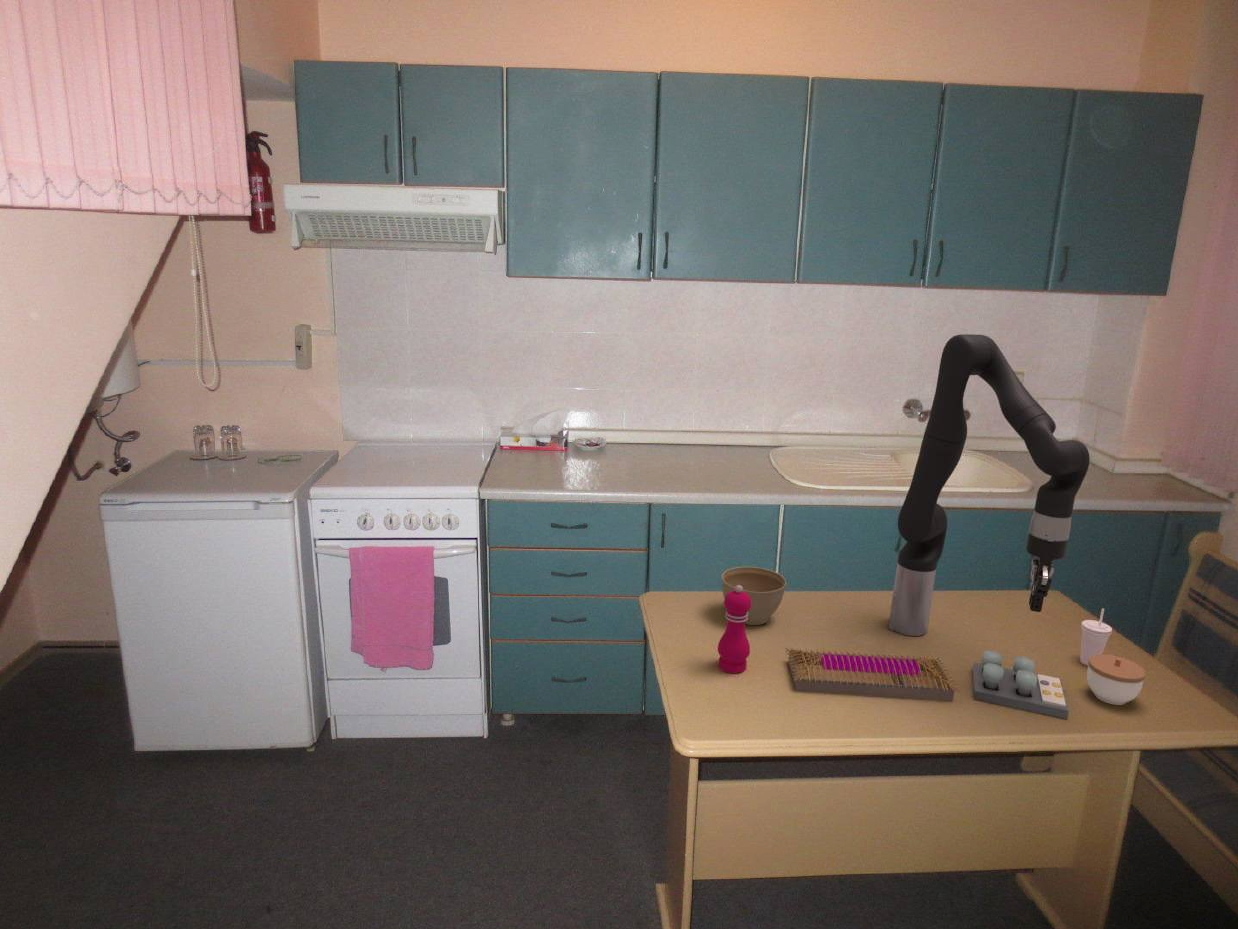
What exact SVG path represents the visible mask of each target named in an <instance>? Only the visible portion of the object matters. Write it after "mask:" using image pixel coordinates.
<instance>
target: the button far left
mask: <svg viewBox="0 0 1238 929" xmlns="http://www.w3.org/2000/svg"><path fill="white" fill-rule="evenodd" d="M1002 662H1003V654H1001V653H1000V652H998V651H996V650H995V651H994V650H989V649H988V650H987V649H986V650H984V651H983V652H982V657H981V663H982V665H983V666H984V665H985V664H987V663H992V664H996V665H999V666H1001V667H1002Z"/></svg>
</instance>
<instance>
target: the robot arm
mask: <svg viewBox="0 0 1238 929" xmlns="http://www.w3.org/2000/svg"><path fill="white" fill-rule="evenodd" d="M970 376H978V377H979V378H980V379H982V380H983V381H984V382H985V383H987V384H988V385H989V387H991V389H992V390H993V391H994V393H995V395H996V398H997V400H998V404H999V409H1000V410H1001V414H1002V415H1003V417H1004V419H1005V421H1007V423H1008V424H1009V425H1010V426H1011V427H1012V429H1013V430H1014V431H1015V432H1016V434H1018V436H1019V437H1020V438H1021V439H1022V440H1023V442H1024V444H1025V446H1026V449H1027V451H1028V453H1029V455H1030V457H1031V459H1032V460H1033V463H1034V464H1035V465H1036V467H1037V468H1038V469H1039V470H1040V471H1041V472H1042V473H1044V474H1046V475H1048V476H1050V478H1049V480H1048V481H1047V482H1045V483H1043V484H1042V485H1040V487H1039V488H1038V490H1037V494H1036V497H1035V498H1036V499H1035V503H1034V509H1033V514H1032V516H1031V520H1030V524H1029V529H1028V535H1027V541H1026V545H1025V550H1026V552H1027V553H1028V554H1029V555H1031V556H1033V557H1032V559H1031V564H1030V565H1031V571H1030V579H1029V580H1030V587H1029V588H1030V589H1031V590H1030V596H1029V599H1028V605H1029V609H1030V611H1031V612H1036V613H1040V612H1042V609H1043V605H1044V604H1043V603H1044V599H1045V598H1047V596H1048V594H1049V590H1050V587H1051V584H1052V582H1053V578H1052V576H1053V575H1054V572H1055V566H1054V562H1053V561H1055V560H1057V561H1060V560H1062V559H1064V558H1065V557H1066V553H1067V549H1068V542H1069V537H1070V532H1071V526H1072V515H1073V510H1074V506H1075V505H1074V504H1075V499H1076V495H1077V494H1078V492H1079V490H1080V488H1081V485H1082V484H1083V482H1084V479H1085V478H1086V475H1087V472H1088V470H1089V466H1090V459H1091V457H1090V452H1089V451H1090V450H1089V449H1088V448H1087V446H1086V444H1084V443H1083V442H1081V441H1079V440H1077V439H1067V440H1061V441H1059V440H1058V439H1057V438H1056V437H1055V436H1054V433H1055V431H1056V428H1057V426H1056V425H1057V424H1056V423H1055V421H1054V419H1053V418H1052V417H1051V415H1050V414H1048V412H1047V411H1046V410H1045V409H1044V408H1043V407H1042V406H1041V405H1040V403H1038V401H1037V400H1036V399H1035V398H1034V397H1033V396H1032V395H1031V393H1030V392H1029V391H1028V390H1027V389H1026V387H1025V386H1024V384H1023V382H1022V381H1021V380H1020V378H1018V376H1017V374H1016V373H1015V370H1013V368H1012V367H1011V365H1010V364H1009V362H1008V360H1007V358H1006V357H1005V356H1004V353H1003V352H1002V350H1001V349H1000V346H998V345H997V342H995V341H994V339H992V338H991V337H990V336H988V335H985V334H972V333H971V334H968V333H967V334H965V333H964V334H956V335H953V336H951V338H949V339H948V340H947V342H946V343H945V346H944V347H943V350H942V353H941V358H940V362H939V370H938V375H937V380H936V387H935V391H934V392H935V393H934V395H933V396H934V397H933V400H932V404H931V409H930V412H929V416H928V417H929V418H928V420H927V424H926V427H925V430H924V433H923V437H922V439H921V440H922V441H921V445H920V449H919V453H918V456H917V461H916V464H915V467H914V471H913V475H912V479H911V483H910V486H909V488H908V491H907V493H906V496H905V499H904V501H903V504H902V505H901V508H900V511H899V514H898V517H897V530H898V532H899V535H900V536H901V538H902V539H903V540H904V541H905V542H906V543H905V545H904V546H903V547H902V548H901V549H900V551H899V552H898V557H897V563H896V564H897V565H896V572H895V578H894V585H893V591H892V592H893V593H892V598H891V605H890V613H889V619H888V627H887V628H888V630H892V631H894V632H895V633H896V632H897V633H899V634H901V635H906V636H912V637H917V636H918V637H919V636H924V635H925V634H926V633H927V632H928V626H929V621H930V613H931V607H932V600H933V593H934V586H935V580H936V573H937V568H938V563H939V560H940V559H941V558H942V554H943V550H944V545H945V540H946V537H947V536H946V535H947V531H948V517H947V513H946V511H945V509H944V507H943V506H941V505H940V504H939V503H938V500H939V497H940V495H941V492H942V490H943V488H944V486H945V485H946V483H947V482H948V480H949V479H950V477H951V476H952V474H953V473H954V471H955V469H957V465H958V464H959V462H960V461H961V457H962V454H963V450H964V447H965V445H966V441H967V436H968V424H967V419H966V413H965V410H964V396H965V391H966V387H967V385H968V381H969V379H970Z"/></svg>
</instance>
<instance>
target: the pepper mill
mask: <svg viewBox="0 0 1238 929" xmlns="http://www.w3.org/2000/svg"><path fill="white" fill-rule="evenodd" d="M723 600H724V601H723V605H724V608H725V616H724V617H725V619H726V628H725V631H724V632H723V634H722V636H721V638H720V639H719V641H718V644H717V652H718V655H719V658H718V667H719V669H720V670H722V671H723V672H726V673H729V674H741V673H744V672H745V671H746V670H747V664H748V661H747V660H746V659H748V658H749V656H750V655H751V647H750V646H751V645H750V642H749V639H748V637H747V633H746V624H745V621H747V619H748V611H749V610H750V608H751V598H750V596H749V595H748V594H747V593H746V592H744V591H743V587H742V586H741V585H737V586H736V587H735V590H734V591H731V592H729V593H728V594H727V595H726V597H725V599H723Z"/></svg>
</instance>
